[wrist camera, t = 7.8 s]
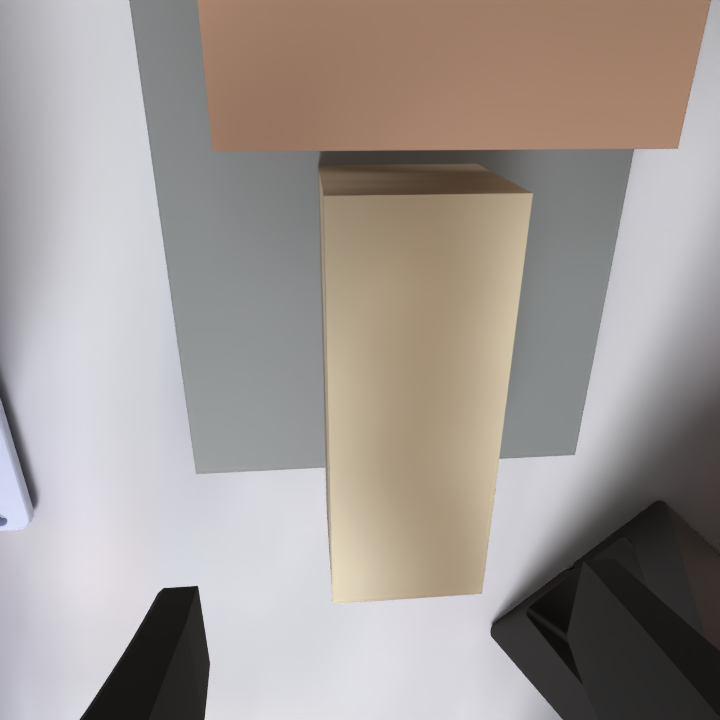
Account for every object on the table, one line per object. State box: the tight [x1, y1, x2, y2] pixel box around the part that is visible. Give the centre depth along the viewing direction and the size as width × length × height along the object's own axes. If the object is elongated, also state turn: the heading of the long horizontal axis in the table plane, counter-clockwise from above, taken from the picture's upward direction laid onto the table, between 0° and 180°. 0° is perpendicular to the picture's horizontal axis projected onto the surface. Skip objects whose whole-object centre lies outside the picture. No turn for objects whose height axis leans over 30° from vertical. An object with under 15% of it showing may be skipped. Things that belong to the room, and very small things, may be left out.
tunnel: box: [197, 0, 711, 152], centre depth 11 cm, size 8×3×5 cm, turn 90°
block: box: [318, 164, 533, 604], centre depth 15 cm, size 4×10×4 cm, turn 0°
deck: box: [129, 0, 634, 474], centre depth 15 cm, size 12×20×2 cm, turn 0°
